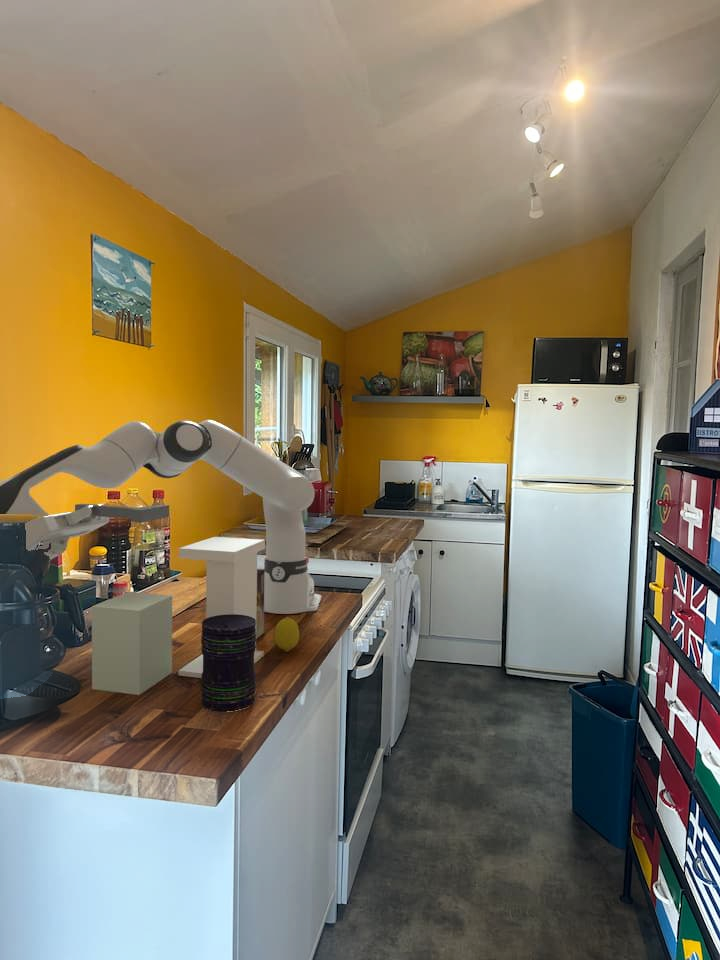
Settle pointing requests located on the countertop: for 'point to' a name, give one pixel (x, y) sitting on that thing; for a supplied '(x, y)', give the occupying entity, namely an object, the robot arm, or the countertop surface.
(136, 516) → the t key
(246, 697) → the storage jar
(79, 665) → the countertop surface
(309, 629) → the countertop surface
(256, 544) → the shelf
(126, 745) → the countertop surface
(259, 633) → the coffee box
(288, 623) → the lemon
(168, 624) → the block
